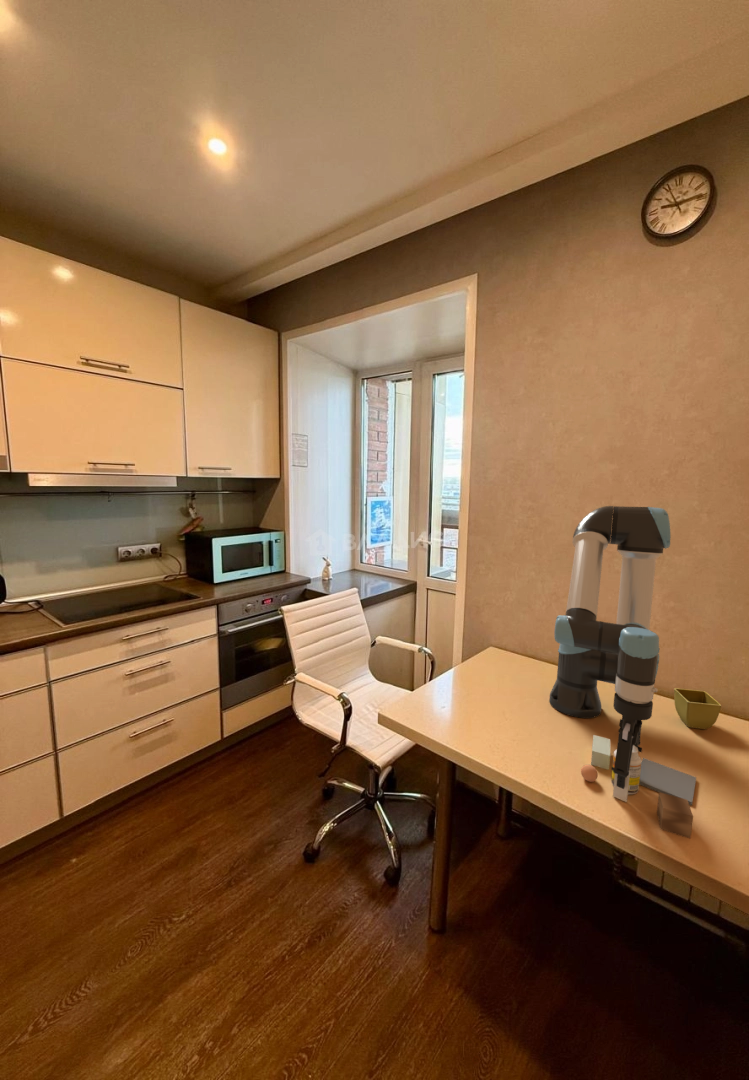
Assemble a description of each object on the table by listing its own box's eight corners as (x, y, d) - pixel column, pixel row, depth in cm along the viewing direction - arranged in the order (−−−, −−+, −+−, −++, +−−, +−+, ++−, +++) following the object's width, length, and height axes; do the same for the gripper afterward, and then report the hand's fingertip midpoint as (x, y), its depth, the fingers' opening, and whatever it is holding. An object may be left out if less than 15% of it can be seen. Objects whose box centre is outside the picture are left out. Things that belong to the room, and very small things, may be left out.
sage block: (590, 765, 107) (592, 750, 107) (592, 748, 114) (593, 734, 114) (608, 770, 105) (610, 755, 105) (608, 753, 112) (610, 739, 112)
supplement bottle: (613, 776, 103) (617, 736, 102) (640, 786, 99) (644, 746, 98) (608, 788, 99) (612, 747, 97) (636, 799, 95) (640, 757, 94)
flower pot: (718, 734, 121) (722, 705, 120) (684, 730, 123) (688, 701, 122) (702, 718, 130) (705, 690, 129) (670, 715, 132) (673, 687, 130)
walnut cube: (660, 829, 87) (663, 807, 86) (656, 813, 91) (659, 792, 91) (690, 838, 85) (693, 816, 84) (684, 821, 89) (687, 799, 89)
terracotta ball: (578, 780, 101) (579, 766, 101) (582, 772, 104) (583, 759, 103) (594, 787, 99) (596, 773, 98) (598, 779, 102) (600, 765, 101)
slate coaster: (634, 782, 101) (634, 779, 101) (642, 760, 109) (643, 757, 109) (691, 805, 94) (692, 802, 93) (695, 780, 102) (696, 777, 102)
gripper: (644, 722, 85) (634, 822, 88) (660, 685, 102) (650, 770, 105) (603, 709, 90) (594, 804, 93) (624, 675, 107) (616, 757, 110)
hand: (624, 786), depth 99 cm, fingers open, 9 cm apart
